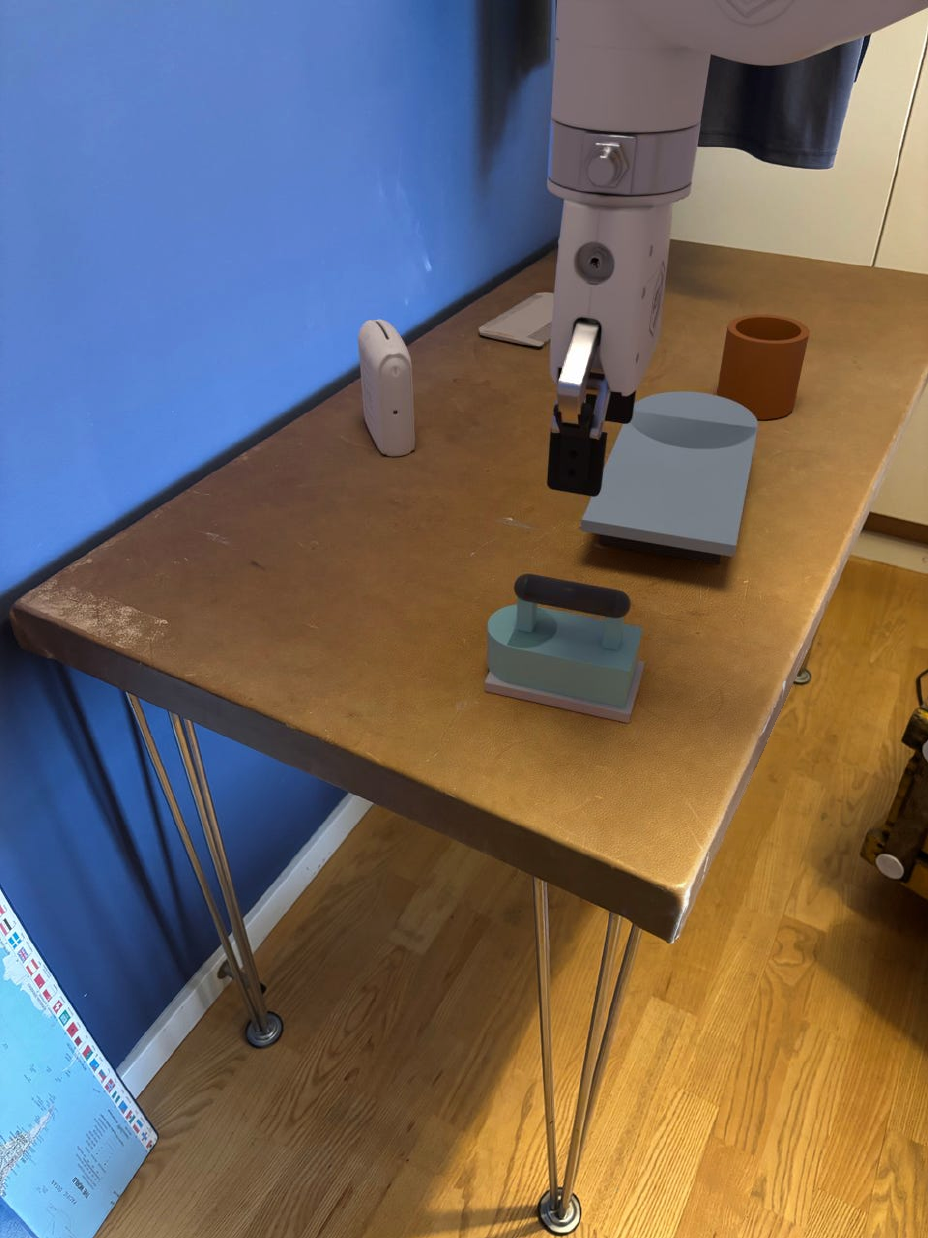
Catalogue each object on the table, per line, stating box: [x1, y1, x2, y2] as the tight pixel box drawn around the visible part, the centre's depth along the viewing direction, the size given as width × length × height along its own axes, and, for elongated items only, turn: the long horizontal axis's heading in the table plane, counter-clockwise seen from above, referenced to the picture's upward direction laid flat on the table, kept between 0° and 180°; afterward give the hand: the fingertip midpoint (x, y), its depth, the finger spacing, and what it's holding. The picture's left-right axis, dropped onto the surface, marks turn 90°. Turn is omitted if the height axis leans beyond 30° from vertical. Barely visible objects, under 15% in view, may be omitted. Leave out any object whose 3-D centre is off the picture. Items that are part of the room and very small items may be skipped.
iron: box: [484, 573, 645, 724], centre depth 67 cm, size 12×6×9 cm, turn 71°
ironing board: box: [580, 390, 759, 565], centre depth 89 cm, size 13×28×5 cm, turn 161°
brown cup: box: [716, 314, 811, 420], centre depth 105 cm, size 9×12×9 cm
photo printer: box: [357, 318, 416, 457], centre depth 97 cm, size 10×4×12 cm, turn 17°
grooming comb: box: [478, 291, 554, 348], centre depth 127 cm, size 18×10×1 cm, turn 147°
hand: (591, 452), depth 58 cm, fingers open, 9 cm apart
